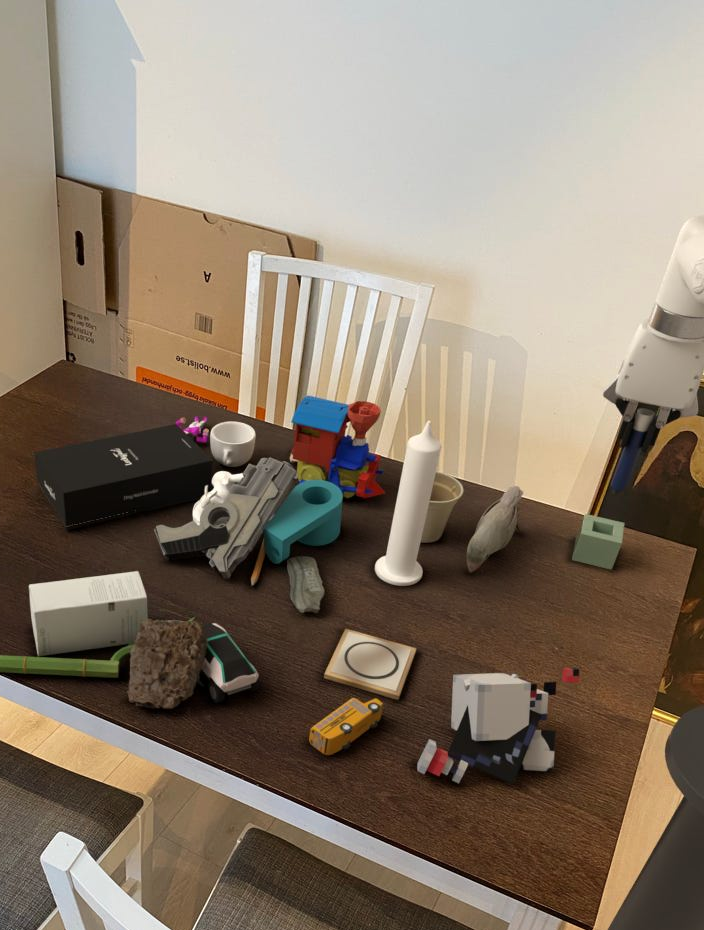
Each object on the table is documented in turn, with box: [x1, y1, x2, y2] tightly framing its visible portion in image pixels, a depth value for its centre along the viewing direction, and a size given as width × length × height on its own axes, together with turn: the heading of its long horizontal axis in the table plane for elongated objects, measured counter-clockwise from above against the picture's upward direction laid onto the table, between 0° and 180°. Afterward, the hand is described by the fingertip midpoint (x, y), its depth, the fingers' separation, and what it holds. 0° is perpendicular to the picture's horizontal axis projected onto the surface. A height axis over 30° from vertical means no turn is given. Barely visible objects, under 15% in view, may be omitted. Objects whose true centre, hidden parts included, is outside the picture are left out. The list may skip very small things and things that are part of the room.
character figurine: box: [175, 415, 210, 444], centre depth 166 cm, size 6×5×12 cm
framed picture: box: [323, 628, 417, 701], centre depth 124 cm, size 10×10×1 cm
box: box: [33, 423, 214, 531], centre depth 151 cm, size 25×14×7 cm, turn 117°
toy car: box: [200, 622, 260, 704], centre depth 120 cm, size 6×12×5 cm, turn 27°
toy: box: [416, 667, 580, 786], centre depth 112 cm, size 12×17×15 cm
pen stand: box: [571, 513, 626, 571], centre depth 145 cm, size 6×6×5 cm
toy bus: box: [308, 697, 384, 756], centre depth 114 cm, size 3×10×4 cm
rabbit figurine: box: [192, 470, 244, 525], centre depth 144 cm, size 12×8×10 cm, turn 149°
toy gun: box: [153, 457, 299, 580], centre depth 140 cm, size 4×21×15 cm
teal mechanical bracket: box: [263, 480, 344, 565], centre depth 143 cm, size 7×15×8 cm
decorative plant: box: [0, 616, 205, 688], centre depth 121 cm, size 6×8×30 cm
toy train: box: [290, 394, 386, 499], centre depth 153 cm, size 10×16×15 cm, turn 68°
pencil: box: [250, 513, 275, 587], centre depth 143 cm, size 1×1×19 cm
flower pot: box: [420, 470, 464, 544], centre depth 146 cm, size 9×9×9 cm
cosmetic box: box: [28, 570, 149, 657], centre depth 124 cm, size 8×6×15 cm
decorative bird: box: [466, 485, 524, 573], centre depth 144 cm, size 5×16×8 cm, turn 147°
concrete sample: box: [126, 618, 208, 710], centre depth 117 cm, size 12×10×5 cm
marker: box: [610, 408, 655, 496], centre depth 135 cm, size 2×2×13 cm
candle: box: [374, 420, 442, 587], centre depth 132 cm, size 7×7×25 cm
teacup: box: [209, 421, 257, 468], centre depth 160 cm, size 10×8×5 cm
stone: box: [286, 555, 325, 614], centre depth 136 cm, size 12×2×5 cm
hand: (633, 445), depth 134 cm, fingers closed on marker, 2 cm apart
